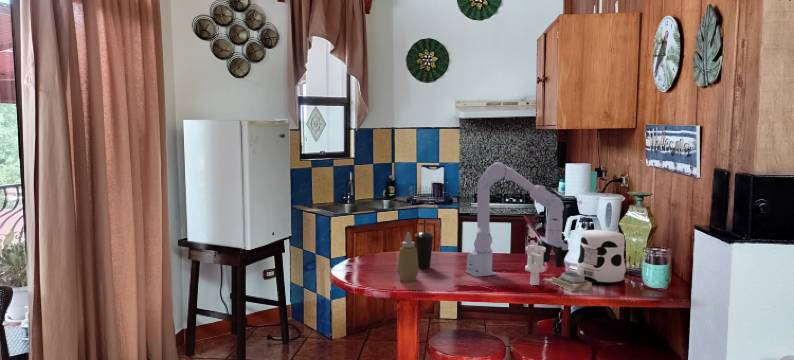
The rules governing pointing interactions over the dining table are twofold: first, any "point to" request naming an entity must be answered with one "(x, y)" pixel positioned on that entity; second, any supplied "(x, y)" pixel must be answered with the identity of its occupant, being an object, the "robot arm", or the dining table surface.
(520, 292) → the dining table surface
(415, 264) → the squeeze bottle
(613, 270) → the milk container
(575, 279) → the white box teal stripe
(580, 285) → the dock
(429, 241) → the drinking cup
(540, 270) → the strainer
